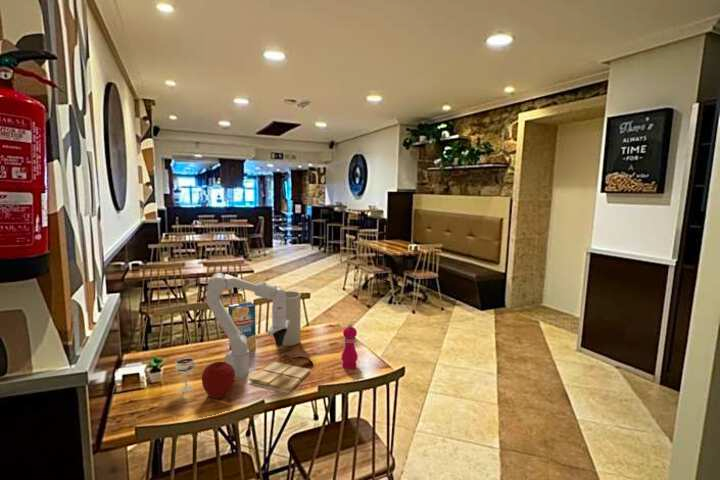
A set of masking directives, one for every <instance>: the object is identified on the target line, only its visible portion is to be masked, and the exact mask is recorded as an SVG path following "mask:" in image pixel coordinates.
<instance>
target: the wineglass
mask: <svg viewBox="0 0 720 480" xmlns="http://www.w3.org/2000/svg"><path fill="white" fill-rule="evenodd" d="M194 360H195V357H194V356H190V355H188V356H180V357H179V358H176V359H175V369H176V372H178V373H180V374H183V375H184V385H185V386H181V387H180V388H179V391H178V392H180V393H189V392H191V391H193V389H194V387H193V386H192V385H188V383H187V380H188V377H187V376H188V375H187V374H188V373H191V372H192V371H193V370H194V368H195V365H196V363H195V361H194Z"/></svg>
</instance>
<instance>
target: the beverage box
mask: <svg viewBox="0 0 720 480" xmlns="http://www.w3.org/2000/svg"><path fill="white" fill-rule="evenodd" d="M227 309H228V310H227V312H228V314H229V315H230V317H231V319H232V320H233V322H234V324H235V325H236V327H237V329H239V330H240V332H241V333H242V334H244V335H245V336H246V337H247V346H248V350H249V351H251V350H256V348H257V347H256V345H257V342H256V340H257V339H256V305H255V304H254V303H253V302H251V301H247V302H241V303H234V304H228V308H227ZM228 343H229V344H228V345H229V347H228V349H229V351H231V350H232V346H231V344H230V342H229V341H228Z"/></svg>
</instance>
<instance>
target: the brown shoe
mask: <svg viewBox="0 0 720 480" xmlns="http://www.w3.org/2000/svg"><path fill="white" fill-rule="evenodd" d="M285 356H286V358H287V359H288V361H290V363H291V365H292V366H297V367H302V368H308V367H314V362H313V361H312V360H311V358H310V356H308V355H307V353H306V351H304V350H303V348H301V346H300V345H297V346H296V347H295V348H293V349H292V350H290V351H288V352H287V353H285Z"/></svg>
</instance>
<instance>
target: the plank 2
mask: <svg viewBox="0 0 720 480" xmlns="http://www.w3.org/2000/svg"><path fill="white" fill-rule="evenodd" d="M300 382H301V381H300V379H298V378H293V377H288V376H284V375H280V376H278V377H277V378H276V379H275V380H274V381H272V382H271V383H270V387H273V388H278V389H282V390H286V391H290V390H291V389H292V388H293V389H294V388H295V387H296V386H297V385H298V384H299V383H300ZM293 389H292V390H293ZM292 390H291V391H292ZM291 391H290V392H291Z"/></svg>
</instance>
